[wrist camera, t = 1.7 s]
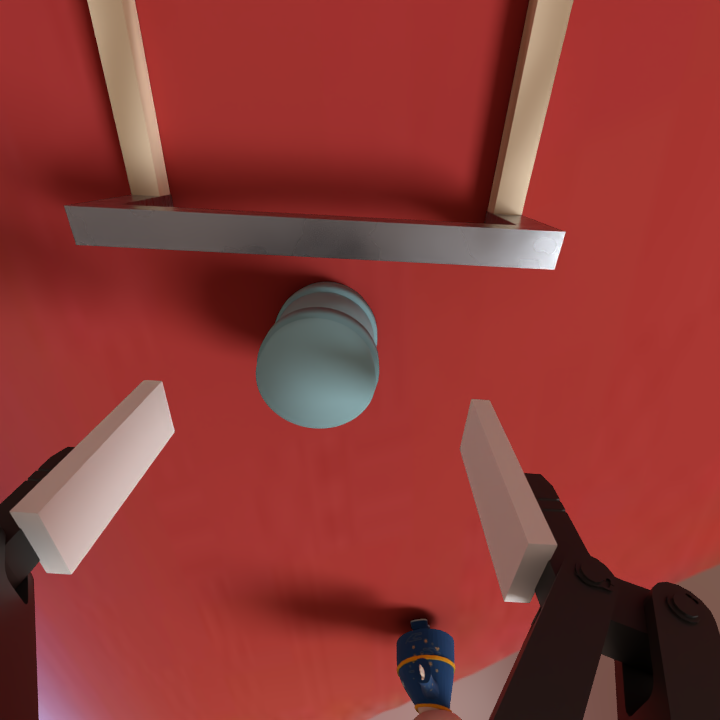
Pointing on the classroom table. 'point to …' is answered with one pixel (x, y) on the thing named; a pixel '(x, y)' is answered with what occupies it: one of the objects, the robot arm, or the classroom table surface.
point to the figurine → (427, 670)
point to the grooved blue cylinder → (320, 357)
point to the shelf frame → (141, 135)
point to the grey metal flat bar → (314, 234)
